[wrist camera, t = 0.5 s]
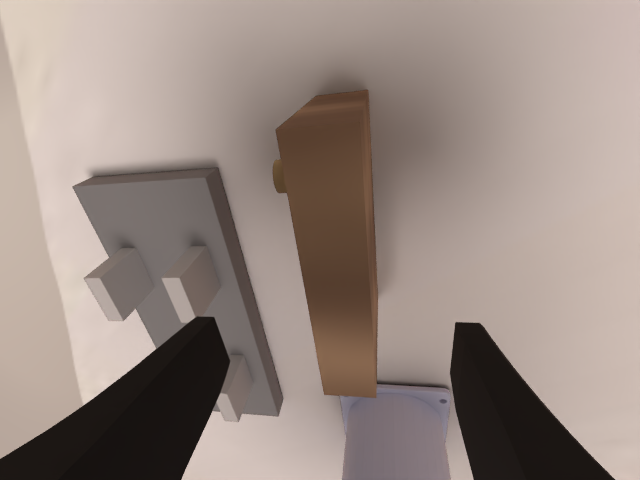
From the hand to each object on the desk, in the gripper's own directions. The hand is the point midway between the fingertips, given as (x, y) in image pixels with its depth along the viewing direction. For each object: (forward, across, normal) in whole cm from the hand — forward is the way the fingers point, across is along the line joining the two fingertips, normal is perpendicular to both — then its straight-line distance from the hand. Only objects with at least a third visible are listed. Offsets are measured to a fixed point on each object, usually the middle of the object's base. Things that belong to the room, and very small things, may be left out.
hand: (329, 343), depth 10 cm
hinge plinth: (+9, +11, +7) cm, 16 cm away
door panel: (+10, 0, 0) cm, 10 cm away
